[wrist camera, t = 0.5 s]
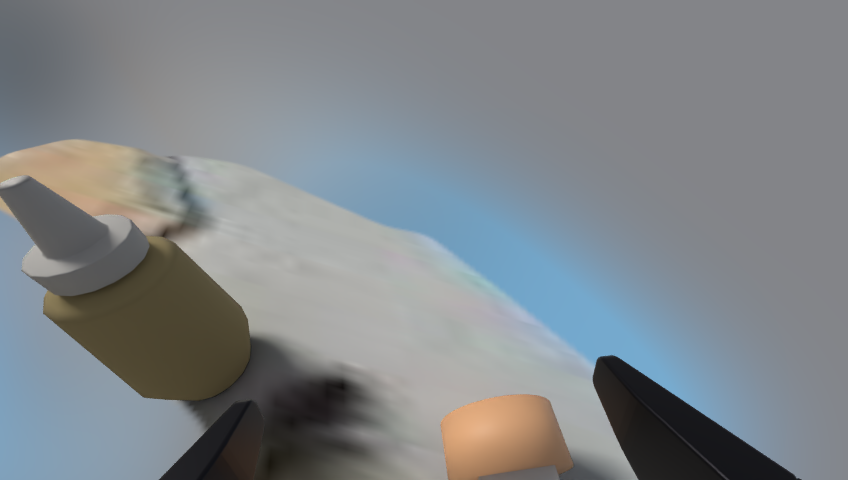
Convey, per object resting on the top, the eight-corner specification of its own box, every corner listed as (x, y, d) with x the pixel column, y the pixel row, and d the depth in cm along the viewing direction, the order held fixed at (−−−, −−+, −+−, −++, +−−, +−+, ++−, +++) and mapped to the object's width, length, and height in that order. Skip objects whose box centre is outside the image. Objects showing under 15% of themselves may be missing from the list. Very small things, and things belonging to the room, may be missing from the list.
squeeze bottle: (273, 383, 25) (110, 203, 13) (155, 440, 23) (-198, 283, 10) (258, 307, 30) (132, 125, 18) (161, 347, 28) (-68, 165, 15)
